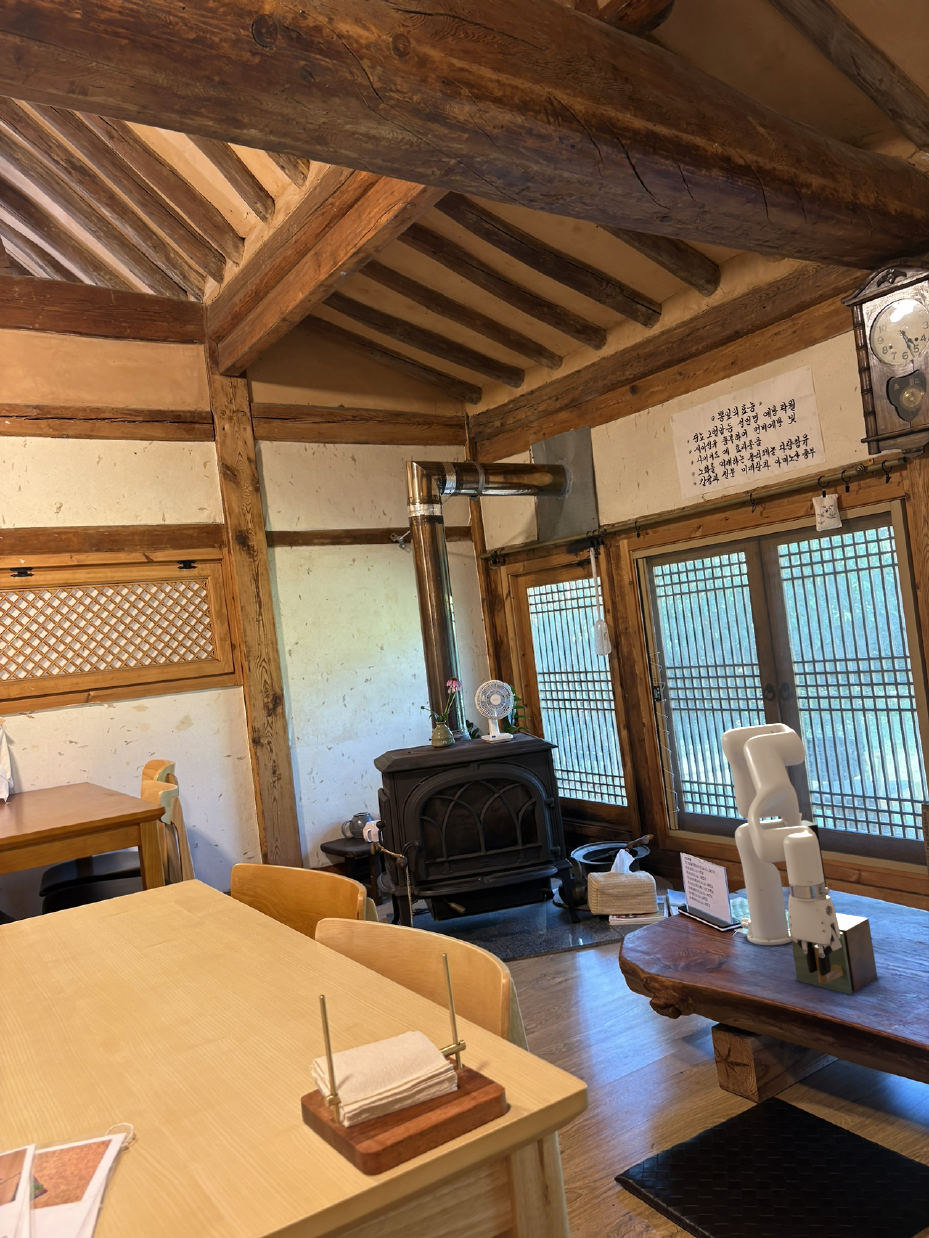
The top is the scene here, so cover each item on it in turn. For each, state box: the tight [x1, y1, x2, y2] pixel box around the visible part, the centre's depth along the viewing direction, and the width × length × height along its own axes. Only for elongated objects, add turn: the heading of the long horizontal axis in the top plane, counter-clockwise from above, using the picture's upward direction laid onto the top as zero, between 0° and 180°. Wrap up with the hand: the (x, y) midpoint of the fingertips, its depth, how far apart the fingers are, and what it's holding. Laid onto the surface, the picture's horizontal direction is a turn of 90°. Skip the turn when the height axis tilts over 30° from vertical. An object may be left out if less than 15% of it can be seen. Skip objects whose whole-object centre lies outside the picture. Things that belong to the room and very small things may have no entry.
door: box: [788, 923, 853, 995], centre depth 207 cm, size 8×14×14 cm, turn 34°
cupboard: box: [836, 912, 878, 993], centre depth 213 cm, size 10×14×14 cm
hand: (819, 971), depth 201 cm, fingers closed on door, 2 cm apart
